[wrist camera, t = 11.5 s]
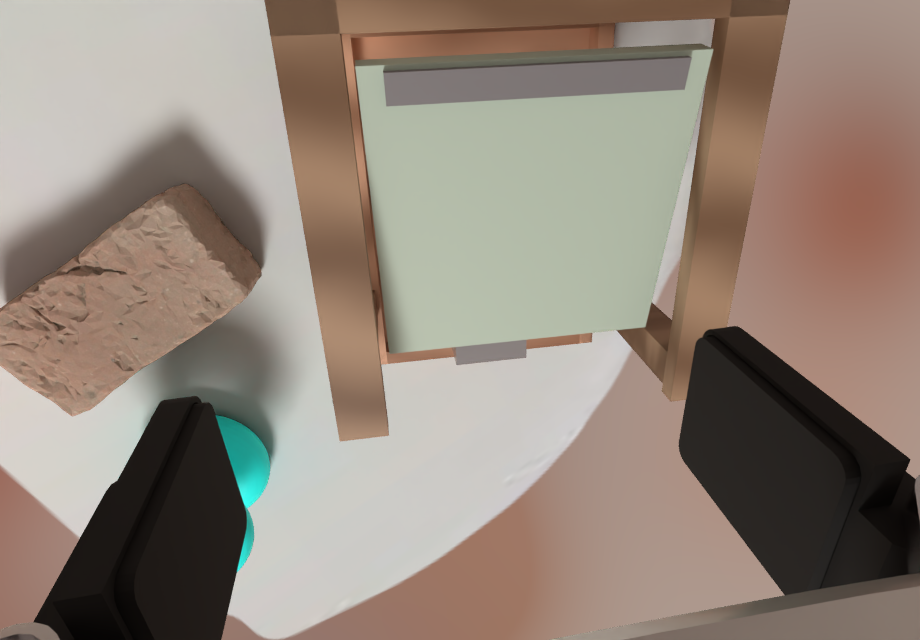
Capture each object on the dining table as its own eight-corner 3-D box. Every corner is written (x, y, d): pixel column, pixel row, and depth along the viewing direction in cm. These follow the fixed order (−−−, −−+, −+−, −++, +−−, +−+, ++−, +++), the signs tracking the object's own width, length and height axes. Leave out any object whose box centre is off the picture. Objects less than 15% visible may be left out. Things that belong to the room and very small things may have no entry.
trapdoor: (355, 60, 21) (355, 68, 20) (700, 43, 23) (717, 51, 22) (388, 341, 30) (389, 357, 29) (638, 316, 31) (647, 330, 30)
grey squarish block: (452, 278, 36) (456, 365, 39) (527, 272, 37) (526, 357, 39) (443, 253, 41) (447, 332, 43) (510, 247, 41) (510, 326, 44)
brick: (183, 174, 37) (158, 190, 33) (270, 271, 40) (257, 296, 36) (3, 308, 39) (-42, 339, 35) (100, 388, 43) (70, 425, 38)
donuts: (197, 622, 41) (59, 568, 37) (228, 519, 49) (120, 466, 46) (279, 539, 38) (141, 472, 34) (296, 446, 47) (189, 385, 43)
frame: (307, -4, 33) (256, -45, 18) (622, -15, 35) (801, -60, 21) (357, 351, 44) (350, 503, 29) (596, 326, 46) (701, 456, 31)
